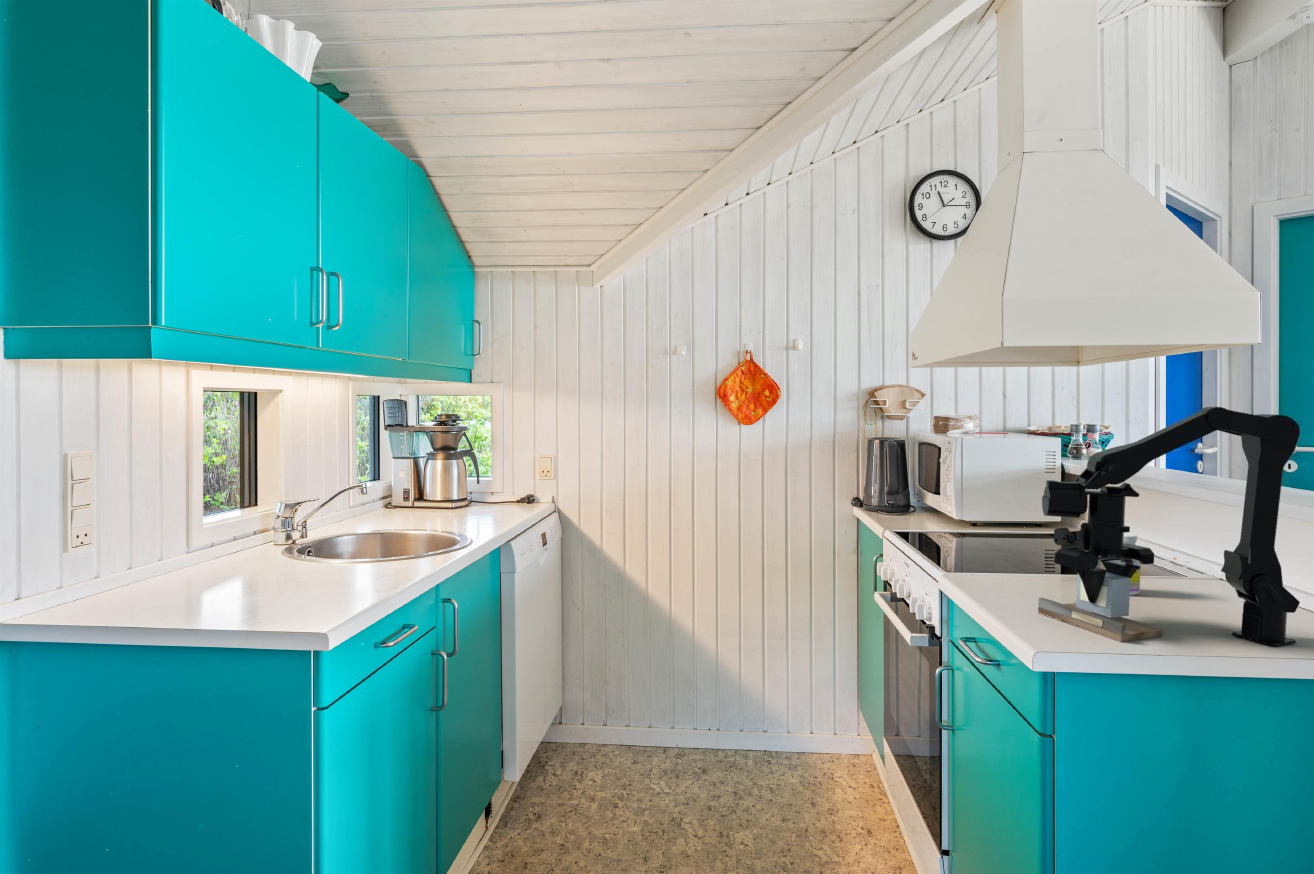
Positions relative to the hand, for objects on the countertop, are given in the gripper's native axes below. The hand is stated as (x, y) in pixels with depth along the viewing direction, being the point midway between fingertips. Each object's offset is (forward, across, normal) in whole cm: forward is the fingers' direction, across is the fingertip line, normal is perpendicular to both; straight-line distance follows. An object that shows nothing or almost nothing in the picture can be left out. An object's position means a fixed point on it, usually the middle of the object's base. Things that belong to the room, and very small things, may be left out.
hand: (1102, 601), depth 130 cm
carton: (+2, 0, 0) cm, 2 cm away
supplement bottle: (+4, -25, -15) cm, 29 cm away
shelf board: (+4, +1, 0) cm, 4 cm away
